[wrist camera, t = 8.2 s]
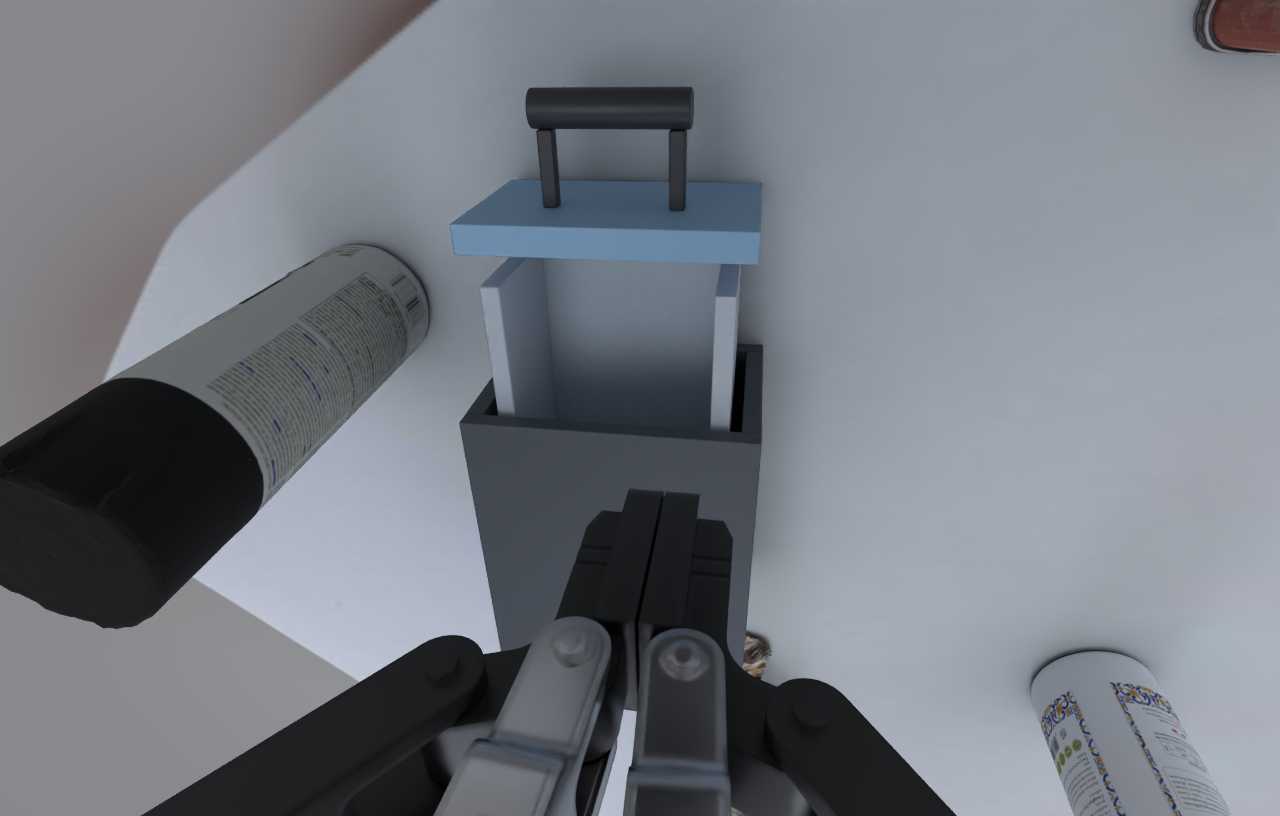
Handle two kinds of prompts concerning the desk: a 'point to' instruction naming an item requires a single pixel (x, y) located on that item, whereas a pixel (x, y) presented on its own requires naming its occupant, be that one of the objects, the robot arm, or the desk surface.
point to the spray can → (198, 437)
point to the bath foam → (1120, 740)
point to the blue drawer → (614, 275)
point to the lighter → (1238, 26)
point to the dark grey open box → (601, 494)
